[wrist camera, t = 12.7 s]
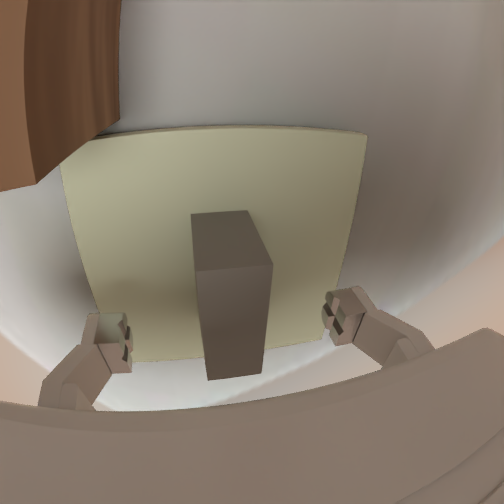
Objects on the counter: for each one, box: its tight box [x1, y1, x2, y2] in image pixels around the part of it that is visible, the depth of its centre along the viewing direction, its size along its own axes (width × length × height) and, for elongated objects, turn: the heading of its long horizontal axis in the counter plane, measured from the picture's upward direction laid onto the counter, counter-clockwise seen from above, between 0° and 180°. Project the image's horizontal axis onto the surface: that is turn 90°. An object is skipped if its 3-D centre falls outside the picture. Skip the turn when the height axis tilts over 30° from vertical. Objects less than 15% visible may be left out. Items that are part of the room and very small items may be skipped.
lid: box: [60, 125, 368, 381], centre depth 13 cm, size 13×13×6 cm
